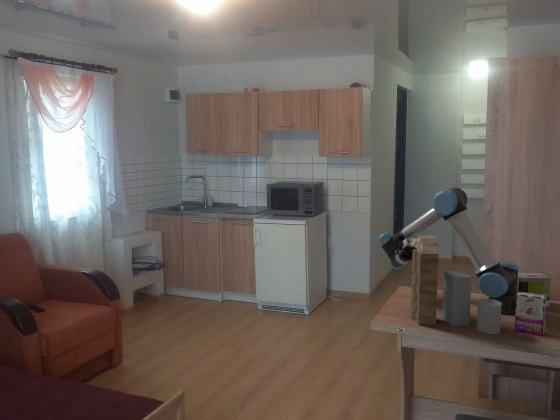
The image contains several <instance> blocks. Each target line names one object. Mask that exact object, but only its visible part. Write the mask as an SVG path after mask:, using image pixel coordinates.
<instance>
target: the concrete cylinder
mask: <svg viewBox="0 0 560 420" xmlns="http://www.w3.org/2000/svg"><path fill="white" fill-rule="evenodd" d="M501 306H502V303H501V302H499V301H496V300H492V299H488V298H481V299H478V300H477V312H476V313H477V314H476V315H477V316H476V331H478V332H479V333H481V334H486V335H498V334H500V333H501V321H502V320H501V318H502V314H501Z"/></svg>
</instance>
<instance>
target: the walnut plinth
mask: <svg viewBox="0 0 560 420" xmlns="http://www.w3.org/2000/svg"><path fill="white" fill-rule="evenodd" d="M439 255H440V253H438V252H437V254H421V253H419V252H418V249H413V253H412V260H411V288H410V289H411V292H410V297H411V298H410V319H412V320H413V321H414V322H415V324H417V325H418V326H420V325H421V326H423V325H425V326H427V325H437V324H436V323H437V322H436V321H437V304H438V302H437V301H438V282H439V279H438V278H439V277H438V276H439Z"/></svg>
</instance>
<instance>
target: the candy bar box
mask: <svg viewBox="0 0 560 420" xmlns="http://www.w3.org/2000/svg"><path fill="white" fill-rule="evenodd" d="M546 308H547V307H546V295H540V294H533V293H525V292H518V293H517V294H516V311H515V314H514V315H515V317H514V331H515V332H519V331H520V332H519V333H525V332H526V334H530V333H532V334H531V335H536V334H538V336H541V335H543V336H544V334H545V332H546V331H545V325H546V324H545V323H546V311H547V309H546Z"/></svg>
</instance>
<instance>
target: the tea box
mask: <svg viewBox="0 0 560 420" xmlns="http://www.w3.org/2000/svg"><path fill="white" fill-rule="evenodd" d="M551 281H552V280H551V277H549V276H547V275H546V274H544V273H542V272H541V273H540V272H539V273H538V272H529V273H528V272H524V273H523V272H518V283H517V293H518V292H525V293H533V294H540V295H546V308H550V303H551V302H550V301H551Z"/></svg>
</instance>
